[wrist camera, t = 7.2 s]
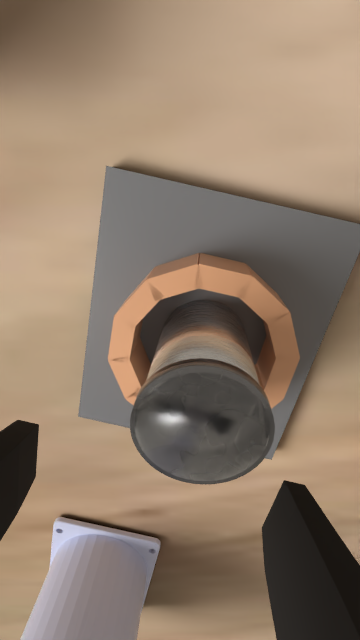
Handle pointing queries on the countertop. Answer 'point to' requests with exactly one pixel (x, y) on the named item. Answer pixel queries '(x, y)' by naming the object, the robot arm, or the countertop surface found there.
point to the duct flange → (208, 285)
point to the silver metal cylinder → (202, 399)
